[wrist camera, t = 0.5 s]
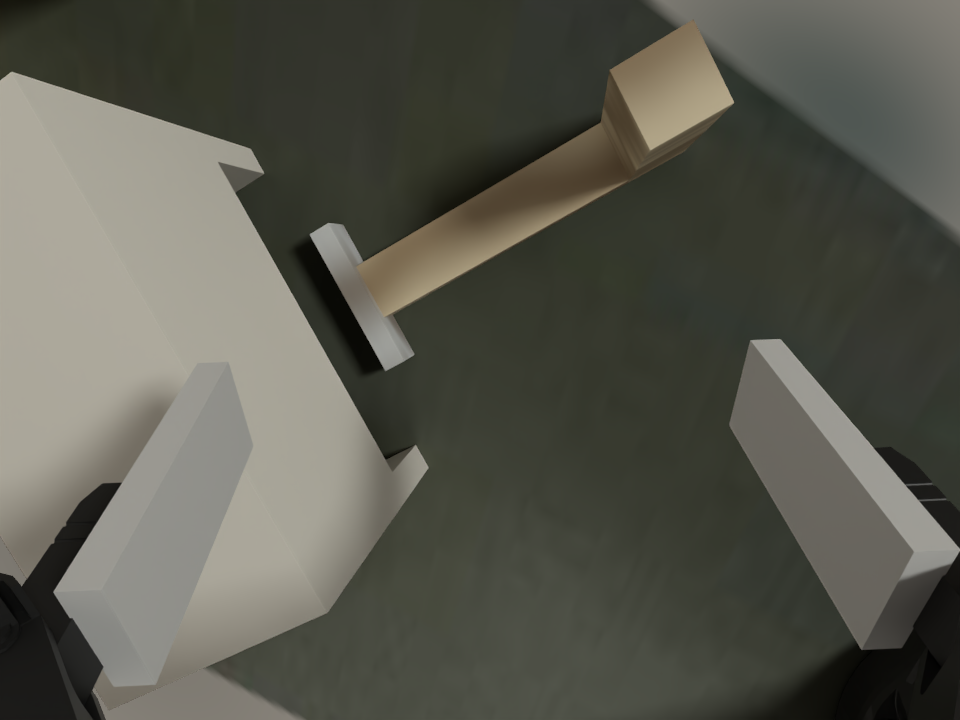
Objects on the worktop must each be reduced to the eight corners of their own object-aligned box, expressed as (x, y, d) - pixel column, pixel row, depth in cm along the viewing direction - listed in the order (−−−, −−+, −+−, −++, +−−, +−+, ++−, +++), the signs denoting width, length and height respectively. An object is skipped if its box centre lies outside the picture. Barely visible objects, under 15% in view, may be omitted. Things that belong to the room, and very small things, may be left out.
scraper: (706, 197, 30) (767, 170, 21) (396, 364, 34) (324, 408, 24) (632, 48, 30) (658, -52, 20) (325, 235, 34) (221, 228, 24)
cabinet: (428, 467, 35) (327, 612, 21) (276, 541, 37) (92, 717, 23) (250, 148, 33) (11, 71, 19) (103, 246, 36) (-206, 241, 22)
